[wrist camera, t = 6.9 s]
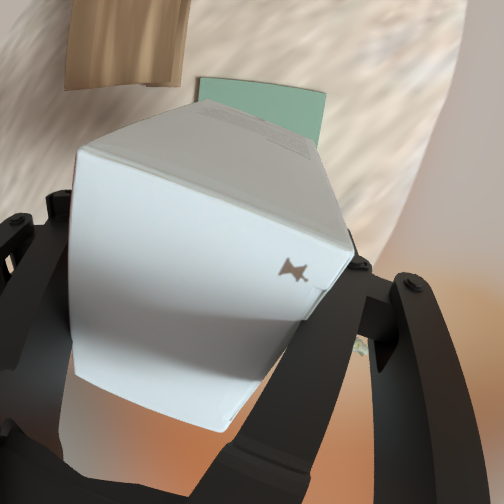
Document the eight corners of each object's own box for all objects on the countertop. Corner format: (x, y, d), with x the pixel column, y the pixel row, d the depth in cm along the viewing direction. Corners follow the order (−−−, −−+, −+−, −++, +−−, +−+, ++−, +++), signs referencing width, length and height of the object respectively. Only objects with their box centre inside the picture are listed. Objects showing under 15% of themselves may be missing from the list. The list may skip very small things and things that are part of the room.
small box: (207, 96, 14) (72, 133, 5) (316, 140, 14) (366, 249, 5) (163, 232, 18) (68, 376, 9) (254, 268, 18) (223, 438, 9)
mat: (193, 189, 31) (191, 191, 30) (202, 77, 25) (200, 77, 25) (304, 205, 30) (305, 208, 30) (325, 93, 25) (326, 93, 24)
